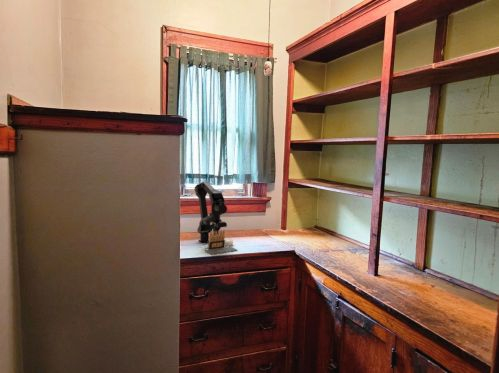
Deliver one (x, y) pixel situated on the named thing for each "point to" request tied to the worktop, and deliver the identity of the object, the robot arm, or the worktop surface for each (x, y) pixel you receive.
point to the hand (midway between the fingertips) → (215, 236)
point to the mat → (221, 250)
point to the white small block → (228, 242)
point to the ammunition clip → (216, 240)
